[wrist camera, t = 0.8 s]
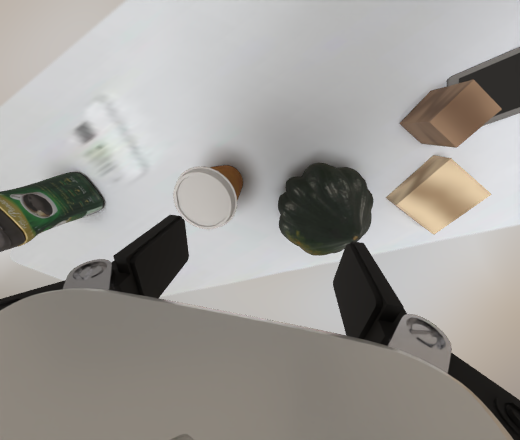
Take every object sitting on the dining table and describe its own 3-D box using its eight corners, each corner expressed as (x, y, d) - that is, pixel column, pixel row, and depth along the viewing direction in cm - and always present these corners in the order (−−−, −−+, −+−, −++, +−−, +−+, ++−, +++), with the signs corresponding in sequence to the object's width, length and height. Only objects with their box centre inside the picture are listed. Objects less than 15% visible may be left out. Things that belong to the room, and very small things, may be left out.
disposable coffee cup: (217, 145, 34) (184, 153, 23) (260, 175, 35) (247, 195, 25) (197, 186, 38) (161, 209, 28) (236, 212, 39) (216, 242, 29)
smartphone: (445, 138, 29) (448, 138, 28) (443, 79, 26) (447, 78, 25) (581, 90, 24) (589, 89, 24) (598, 12, 22) (607, 9, 21)
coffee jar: (60, 180, 43) (-86, 212, 26) (81, 166, 40) (-65, 193, 24) (90, 216, 46) (-22, 264, 29) (111, 205, 44) (3, 252, 27)
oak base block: (432, 155, 30) (451, 158, 26) (468, 186, 31) (491, 194, 28) (385, 197, 34) (396, 205, 30) (419, 224, 35) (433, 234, 32)
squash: (248, 204, 32) (294, 280, 24) (308, 128, 26) (399, 193, 18) (292, 218, 43) (335, 275, 34) (342, 166, 37) (410, 219, 28)
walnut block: (430, 91, 26) (473, 79, 20) (453, 113, 27) (502, 109, 21) (399, 123, 29) (429, 121, 22) (421, 143, 29) (456, 147, 23)
